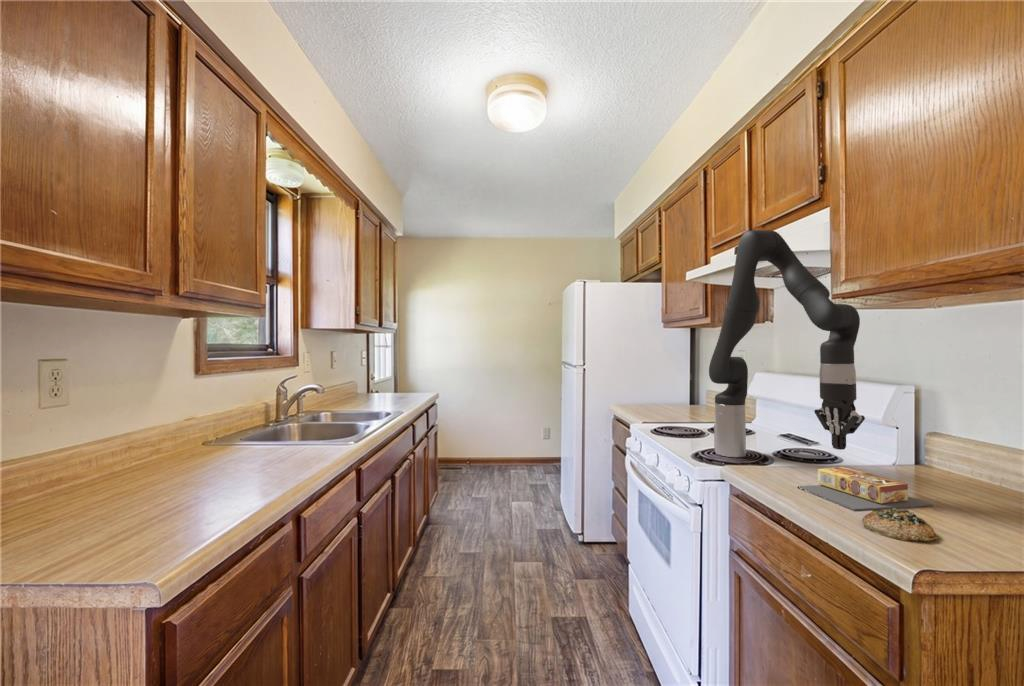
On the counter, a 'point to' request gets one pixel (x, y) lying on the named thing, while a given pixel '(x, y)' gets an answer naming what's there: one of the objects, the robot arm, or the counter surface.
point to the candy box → (863, 485)
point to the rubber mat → (860, 499)
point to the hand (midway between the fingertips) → (839, 448)
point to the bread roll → (898, 525)
